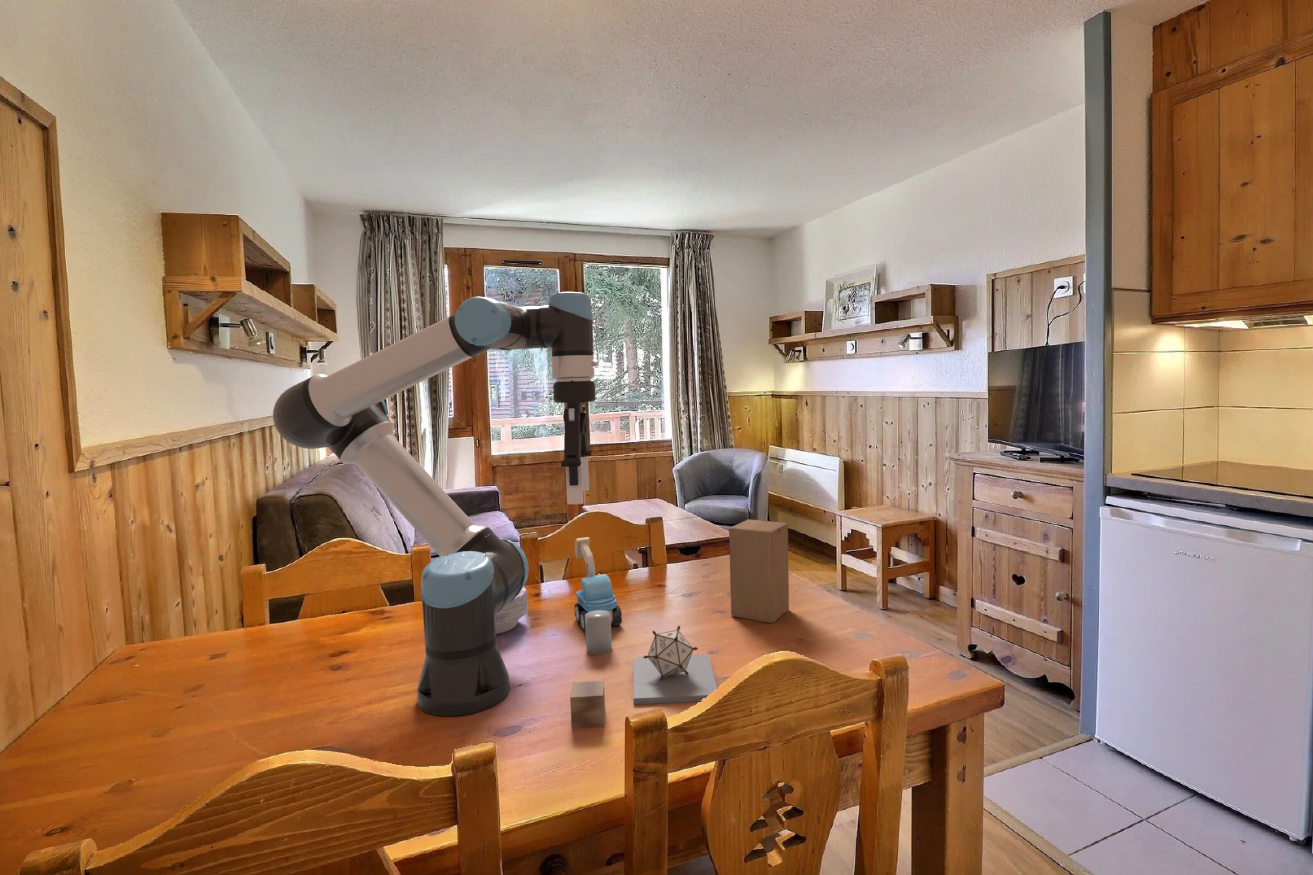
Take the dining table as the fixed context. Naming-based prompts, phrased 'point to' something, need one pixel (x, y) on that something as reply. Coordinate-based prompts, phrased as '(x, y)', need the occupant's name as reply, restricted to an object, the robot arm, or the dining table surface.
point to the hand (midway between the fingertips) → (579, 497)
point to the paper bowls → (511, 612)
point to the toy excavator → (594, 589)
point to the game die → (670, 653)
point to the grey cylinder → (598, 632)
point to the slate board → (673, 682)
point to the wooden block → (759, 570)
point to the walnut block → (587, 704)
